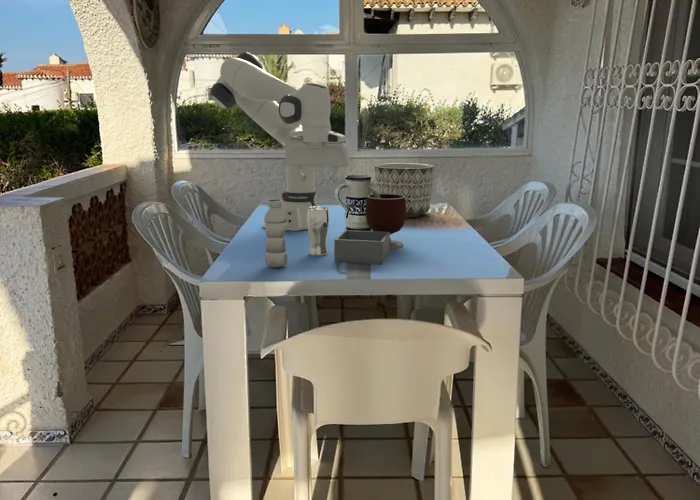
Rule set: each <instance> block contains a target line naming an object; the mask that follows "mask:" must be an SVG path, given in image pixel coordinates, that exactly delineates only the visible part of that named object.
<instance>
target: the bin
mask: <svg viewBox="0 0 700 500" xmlns="http://www.w3.org/2000/svg"><path fill="white" fill-rule="evenodd" d="M390 239H391V235H390V232H378V231H372V230H354V229H353V230H352V229H351V230H350V229H344V230H343V231H342V232H340V234H339V235H338V236H337V237H336V238H334V241H333V242H334V252H333V253H334V263H351V264H365V265H366V264H368V265H369V264H370V265H384V263H385V261H386V260H387V258H388V256H389V254H390V249H389V244H390Z"/></svg>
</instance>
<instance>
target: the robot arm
mask: <svg viewBox="0 0 700 500" xmlns="http://www.w3.org/2000/svg"><path fill="white" fill-rule="evenodd" d="M219 72H220V73H219V74H220V76H219V77H218V79H217V80H216V82H214V83H213V84H212V87H211V89H210V91H209V92H210V97H212V100H213V102H215V103H214V104H216V105H217V106H219V107H220V108H223V109H226V110H232V109H233V108H235V107H236V106H237V105H238V106H239V107H240V109H241V110H243V111H244V112H245V114H246V115H247V116H248V117H249V118H251V120H253V121H254V122H255V123H256V124H257V125H259V126H260V127H261V128H262V129H263V130H264V131H265V132H266V133H267V134H269V135H270V136H271V137H272V138H274V139H275V140H276V141H277V142H279V143H280V144H281V145H282V146H283V147H284V148H285V149H284V150H285V153H284V163H285V165H286V169H285V170H286V173H285V174H286V190H285V191H284V192H283V193H282V194H281V198H282V199H281V205H282V207H281V209H282V210H283V212H284V213H285V214H286V217H287V221H286V230H285V231H294V232H295V231H296V232H298V231H302V230H308V225H307V214H308V208H309V207H316V205H317V192H316V189H315V182H316V181H315V177H316V176H315V170H316V169H315V167H323V168H324V167H327V168H331V170H332V171H333V172H332V174H330V175H328V181H329V182H335V179H336V178H335V177H336V175H337V173H338V171H339V168H345V167H347V166H349V165H350V153H349V148H348V145H347V144H346V143H345V142H346V135H344V134H342V133H339V132H336V131H333V130H332V127H331V126H332V125H331V121H330V117H331V111H332V110H331V109H332V107H331V104H332V103H331V94H330V90H329V87H328V86H327V85H326V84H324V83H321V82H314V81H307V82H304V83H303V84H302V86H301V87H300V88H298V87H296V86H294V85H292V84H290V83H287V82H285V81H283V80H282V79H279V78H278V77H276V76H274V75H272V74H270V73H269V72H267V71H265V70H264V67H263V65H262V62H261V61H260V60H259V59H258V57H257V56H255V55H254V54H252V53H250V52H248V51H243V52H242V53H240V54H238V55H237V56H236V57H228V58H227V59H225V60H224V61H223V63H222V64H221V65H220V71H219ZM278 102H279V103H278ZM262 228H263V229H266V228H265V222H264V223H263V224H262Z"/></svg>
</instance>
